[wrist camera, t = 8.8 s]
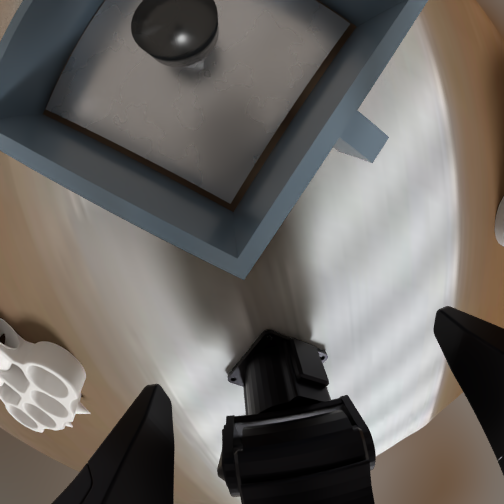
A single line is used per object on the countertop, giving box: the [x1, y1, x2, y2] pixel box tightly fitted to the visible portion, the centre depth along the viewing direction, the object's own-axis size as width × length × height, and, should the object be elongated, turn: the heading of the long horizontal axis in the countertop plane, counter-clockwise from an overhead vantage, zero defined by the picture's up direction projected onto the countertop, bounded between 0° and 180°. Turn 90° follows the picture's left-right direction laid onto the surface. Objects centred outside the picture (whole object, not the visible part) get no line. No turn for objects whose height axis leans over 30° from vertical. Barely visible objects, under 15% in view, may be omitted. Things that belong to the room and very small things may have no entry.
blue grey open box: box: [0, 0, 428, 280], centre depth 11 cm, size 15×17×6 cm
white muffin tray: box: [0, 318, 91, 432], centre depth 23 cm, size 3×18×15 cm
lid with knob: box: [46, 0, 350, 204], centre depth 10 cm, size 13×13×6 cm
